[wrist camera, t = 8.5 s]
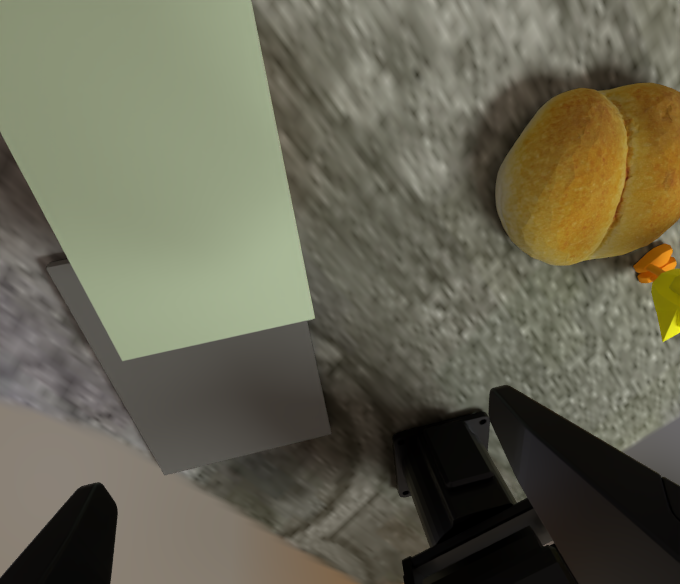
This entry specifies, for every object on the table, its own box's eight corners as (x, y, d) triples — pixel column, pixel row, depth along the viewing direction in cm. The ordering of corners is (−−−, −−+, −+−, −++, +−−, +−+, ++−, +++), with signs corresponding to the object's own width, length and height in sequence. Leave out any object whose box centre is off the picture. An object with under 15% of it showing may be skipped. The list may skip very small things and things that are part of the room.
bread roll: (497, 93, 18) (554, 107, 15) (683, 74, 20) (775, 83, 16) (477, 264, 23) (518, 304, 19) (630, 241, 24) (693, 275, 20)
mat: (330, 427, 27) (331, 434, 26) (165, 468, 26) (164, 475, 25) (284, 216, 19) (285, 220, 19) (50, 262, 18) (45, 267, 18)
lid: (304, 276, 17) (314, 318, 15) (140, 311, 17) (122, 361, 14) (242, -30, 12) (241, -46, 10) (-2, 4, 11) (-72, -3, 9)
